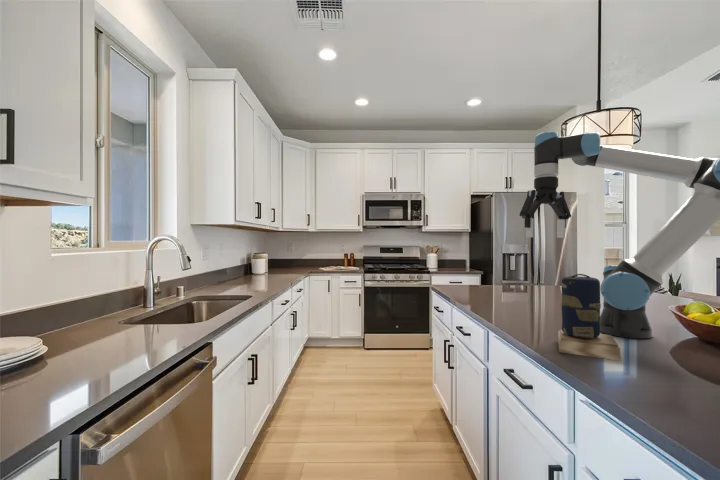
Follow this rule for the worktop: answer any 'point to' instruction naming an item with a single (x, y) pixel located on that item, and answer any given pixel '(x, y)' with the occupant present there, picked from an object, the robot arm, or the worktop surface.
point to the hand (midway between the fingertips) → (545, 237)
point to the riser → (589, 346)
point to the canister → (581, 306)
